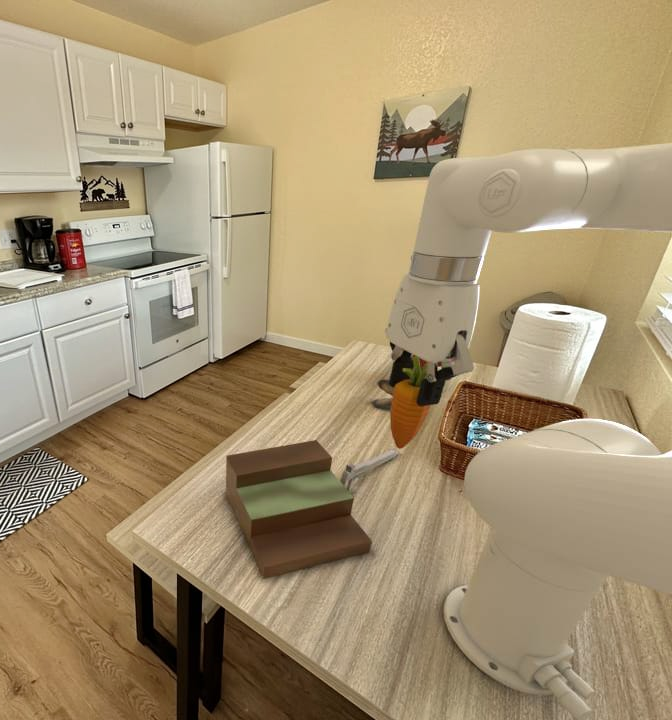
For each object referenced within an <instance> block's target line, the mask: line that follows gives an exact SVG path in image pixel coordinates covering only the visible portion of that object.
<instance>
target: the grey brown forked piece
mask: <svg viewBox="0 0 672 720" xmlns="http://www.w3.org/2000/svg"><path fill="white" fill-rule="evenodd" d="M389 380H390V379H383V378H382V379H379V380H378V381H377V382H376V384H377V386H378V388H379V389H380V390H382V391H383V392H385V393H386V394H388V395H390V396H392V397H393V392H394V387H391V386H390V385H389ZM392 397H390V398H389V397H388V398H387V397H386V398H380V399H379V398H378V399H374V400H372V401H371V404H372V405H373V406H374V407H376V408H383V407H384V408H385V407H388V408H389V407H390V408H391V403H392Z"/></svg>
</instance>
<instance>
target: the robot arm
mask: <svg viewBox="0 0 672 720" xmlns="http://www.w3.org/2000/svg"><path fill="white" fill-rule="evenodd" d="M566 229H567V230H568V229H591V230H592V229H595V230H596V229H597V230H620V231H621V230H623V231H643V232H645V231H646V232H661V233H672V142H665V143H656V144H645V145H636V146H626V147H625V146H623V147H614V148H613V147H611V148H598V149H597V148H596V149H595V148H593V149H592V148H591V149H590V148H528V149H527V148H526V149H521V150H515V151H510V152H506V153H502V154H497V155H493V156H464V157H453V158H447V159H443V160H441V161H439V162H437V163H436V164H435V165H434V166H433V167H432V169H431V171H430V172H429V178H428V180H427V185H426V191H425V195H424V199H423V205H422V208H421V214H420V219H419V222H418V227H417V233H416V236H415V242H414V246H413V252H412V254H411V257H410V264H409V269H408V272H406V273H405V274H404V275H403V277H402V279H401V281H400V283H399V286H398V288H397V291H396V293H395V297H394V300H393V303H392V305H391V309H390V314H389V317H388V322H387V324H386V325H387V326H386V328H385V330H384V332H385V337H386V339H387V340H388V341H389V346H390V348H391V351H392V353H391V355H390V357H391V360H392V361H393V362H392V367H391V372H390V376H389V379H388V380H389V385H390V386H391V387H395V385H396V384H397V383H399V382H401V381H403V380H406V379H408V380H411V379H410V377H409V376H408V375H407V374H406V373H404V372H403V368H407V369H409V368H410V369H412V371H413V369H414V364H413V360H411V359H412V358H413V356H414V355H415V356H417V357H419V358H421V359H423V360H425V361H427V379H423V380H422V382H421V386H420V390H419V393H418V397H417V401H416V402H417V404H418V405H419V406H427V405H430V406H434V405H438V404H440V401H441V398H442V395H443V390H444V387H445V384H446V382H447V381H451V379H453V378H455V377H458V376H460V375H464V374H467V373H471V372H473V371H474V370H475V367H474V364H473V360H472V358H471V354H470V351H469V348H470V345H471V341H472V338H473V335H474V331H475V326H476V321H477V315H478V309H479V303H480V302H479V301H480V287H481V285H480V283H478V280H479V276H480V273H481V271H482V270H481V269H482V267H483V262H484V259H485V255H486V252H487V249H488V245H489V241H490V239H491V235H492V232H495V233H502V234H503V233H504V234H515V233H528V232H529V233H530V232H538V231H548V230H566ZM452 359H454V362H453V363H452ZM438 363H441V366H440V369H438ZM463 479H464V480H463V485H464V491H465V494H466V497H467V500H468V501H469V504H470V506H471V507H472V508H473V509H474V511H475V512H476V513H477V515H478V516H479V517H480V519H482V520H483V521H484V522H485V524H487V525H488V526H489V527H490V530H489V533H488V535H487V538H486V540H485V543H484V545H483V548H482V550H481V553H480V555H479V558H478V560H477V562H476V565H475V567H474V570H473V572H472V575H471V577H470V579H469V582H468V584H465V585H461V586H458V587H454V589H452V590H451V591H450V592H449V593H448V595H447V596H446V599H445V601H444V603H443V611H442V613H443V618H444V623H445V626H446V628H447V630H448V633H449V634H450V636H451V638H452V640H453V641H454V642H455V644H456V645H457V647H458V648H459V649H460V650H461V652H462V653H463V654H464V656H466V657H467V658H468V660H470V661H471V662H472V663H473V664H474V665H475V666H476V667H477V668H478V669H480V670H481V671H482V672H484V674H486V675H488V676H489V677H490V678H492V679H494V680H495V681H497V682H499V683H500V684H502V685H504V686H506V687H508V688H510V689H513V690H515V691H517V692H521V693H524V694H527V695H532V696H541V697H543V696H551V695H553V696H554V697H555V698H556V699H557V700H558V703H559V704H561V706H562V707H563V708H564V709H565V710H566V711H567V712H568V714H569V715H570V716H572V718H573V719H574V720H587V719H588V718H590V717H591V716H592V714H593V713H594V711H593V709H592V708H591V707H590V706H589V705H588V704H587V703H586V702H585V701H584V700H589V699H591V698H592V697H594V696H595V695H596V693H597V692H596V691H595V689H593V688H592V687H591V686H590V685H589V683H587V682H586V681H585V680H584V679H583V678H581V677H580V676H579V675H578V674H577V673H576V672H575V671H574V670H573V665H572V664H571V663H570V661H571V659H572V658H573V657H574V655H575V650H574V649H573V648H572V647H571V646H570V645H569V644H568V643H567V642H568V640H569V638H570V637H571V636H572V634H573V632H574V630H575V628H576V627H577V626H578V624H579V622H580V621H581V619H582V618H583V616H584V614H585V613H586V611H587V609H588V608H589V606H590V604H591V603H592V602H593V599H594V598H595V597H596V594H597V593H598V591H599V590H600V589H601V587H602V586H603V585H604V583H605V582H606V581H607V579H608V577H612V578H615V579H618V580H622V581H624V582H629V583H631V584H634V585H637V586H641V587H643V588H647V589H650V590H653V591H656V592H659V593H662V594H665V595H668V596H672V450H670V451H668V452H664V453H662V452H661V451H660V450H659V449H658V447H656V445H655V444H654V443H652V442H651V441H650V440H649V439H648V438H647V437H645V436H644V435H643V434H641V433H639V432H638V431H636V430H634V429H633V428H630V427H628V426H626V425H623V424H620V423H617V422H614V421H609V420H604V419H600V418H599V419H598V418H577V419H569V420H564V421H559V422H556V423H552V424H548V425H546V426H543V427H538V428H536V429H533V430H530V431H528V432H525V433H523V434H519V435H516V436H513V437H511V438H506V439H504V440H501V441H498V442H496V443H494V444H491V445H488V446H487V447H485V448H483V449H482V450H481V451H479V452H477V454H475V455H474V457H472V458H471V460H470V461H469V463H468V465H467V467H466V469H465V473H464V478H463ZM567 682H568V683H569V684H570V685H571V687H572V688H573V689H574V690H575V691H576V692H577V693H578V694H579V695H580V696H581V697H582V698H583V699H584V700H583V699H582V698H581V697H580V696H579V695H578V694H577V693H576V692H575V691H574V690H572V689H571V688H570V687H569V686H568V685H567Z"/></svg>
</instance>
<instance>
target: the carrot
mask: <svg viewBox="0 0 672 720" xmlns="http://www.w3.org/2000/svg"><path fill="white" fill-rule="evenodd" d="M413 364H414V368H413V369H415V372H413V371H412V369H410V368H409V369H407V368H403V372H404V373H406V374H407V375H408V376H409V377H410V379H411V380H408V379H406V380H403V381H401V382H399V383H397V384H396V385H395V387H394V392H393V396H392V397H391V398H392V403H391V407H390V410H389V411H390V412H389V413H390V417H389V419H390V421H389V422H390V423H389V424H390V431H391V436H392V439H393V441H394V444H395V447H396V448H397V449H398V450H400V449H403V448H405V447H406V446H407V445H408V444H410V443H411V442H412V441H413V440H414V439H415V438H416V436H417V435H418V433H419V432H420V430H421V429H422V426H423V425H424V423H425V421H426V419H427V416H428V413H429V410H430V408H431V405H427V406H419V405H418V404H417V402H416V401H417V397H418V393H419V390H420V386H421V382H422V380H423V379H425V377H426V375H427V364H424V367H423V371H422V372H421V368H420V362H419V358H418V357H413Z"/></svg>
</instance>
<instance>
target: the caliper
mask: <svg viewBox="0 0 672 720" xmlns="http://www.w3.org/2000/svg"><path fill="white" fill-rule="evenodd" d="M399 454H400V451H397V450H395V449H394V448H393V449H390V450H387V451H385V452H383V453H381V454H379V455H377V456H375V457H373V458H370V459H369V460H366V461H361V462H359V463H357V464H354V463H352V462H350V463H349V464H346V466H345V469H344V470H343V471H342V474H341V478H340V479H339V481H340V482H341V483H342V484H343V485H344V486H345V488H346V489H347V490H348V491H349V492H351V490H352V488H353V485H354V483H355V481H356V479H361V478H362V477H364V476H365V475H366V473H367V472H369V471H372V469H373V470H374V469H375V468H376V467H379V466H380V465H383V464H384V463H387V462H388V461H390V460H392V459H395V458H396V456H397V455H399Z"/></svg>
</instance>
